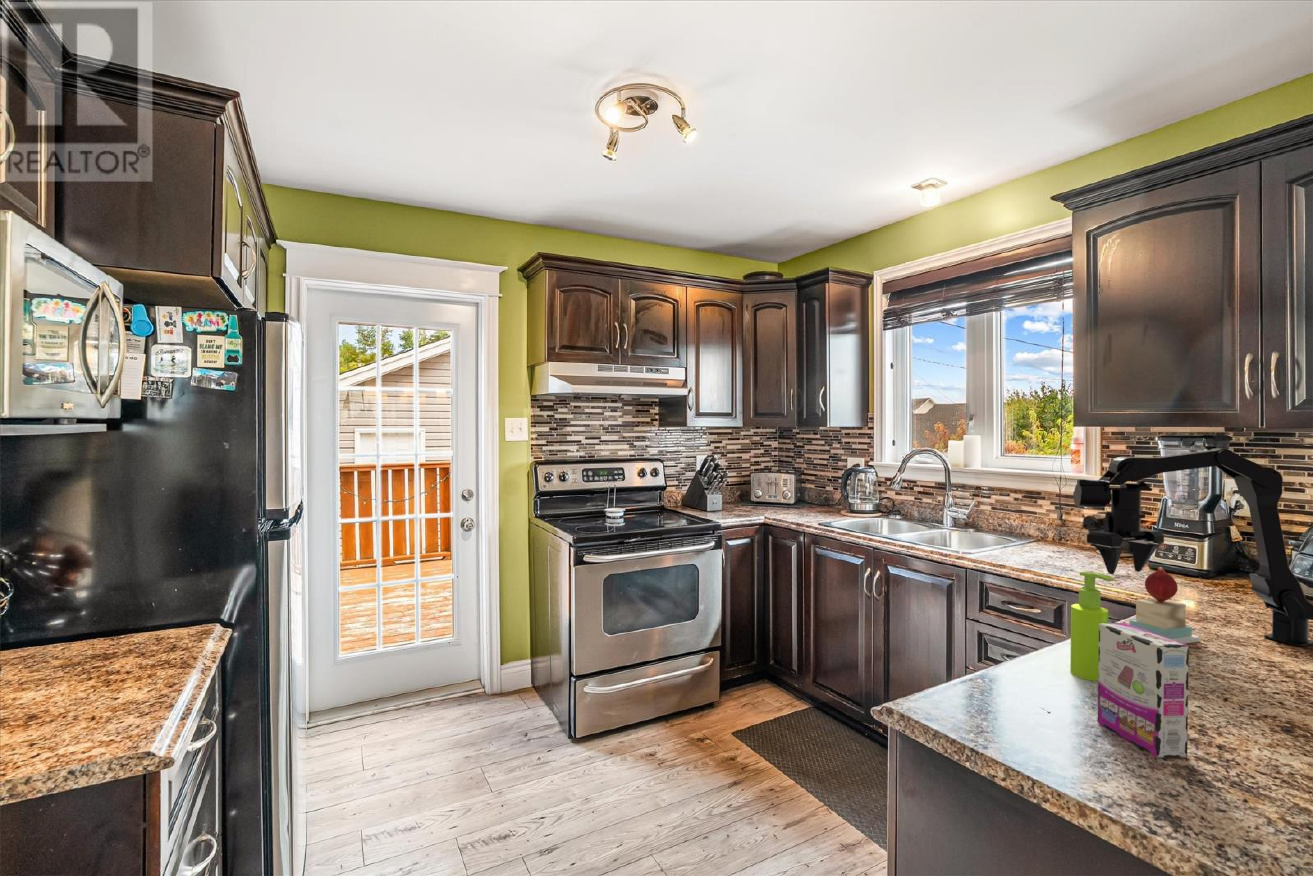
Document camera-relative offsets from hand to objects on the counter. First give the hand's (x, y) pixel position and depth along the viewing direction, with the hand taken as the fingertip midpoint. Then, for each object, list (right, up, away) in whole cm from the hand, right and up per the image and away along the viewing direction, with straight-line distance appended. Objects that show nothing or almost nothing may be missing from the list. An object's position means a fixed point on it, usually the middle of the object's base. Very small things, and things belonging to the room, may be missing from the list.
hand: (1124, 572), depth 148 cm
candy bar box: (-40, -14, -55) cm, 69 cm away
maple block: (+3, -10, -7) cm, 13 cm away
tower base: (+3, -13, -7) cm, 15 cm away
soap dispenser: (-30, -13, -31) cm, 45 cm away
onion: (+3, -5, -7) cm, 10 cm away
